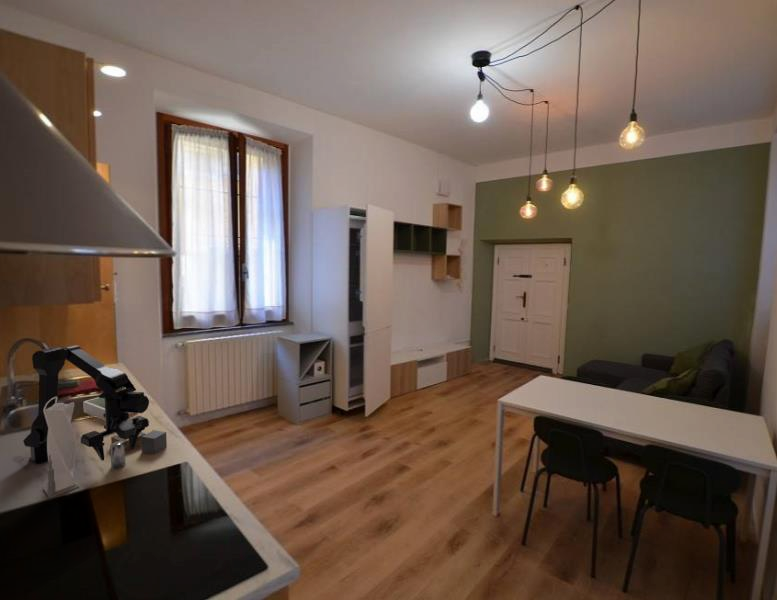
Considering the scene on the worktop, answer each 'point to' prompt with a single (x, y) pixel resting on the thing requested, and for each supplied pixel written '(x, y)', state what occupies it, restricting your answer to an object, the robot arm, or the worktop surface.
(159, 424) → the worktop surface
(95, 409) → the part corral
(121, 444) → the grey cylinder
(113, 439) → the socket block
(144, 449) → the grey cube
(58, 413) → the white tall twisted piece
